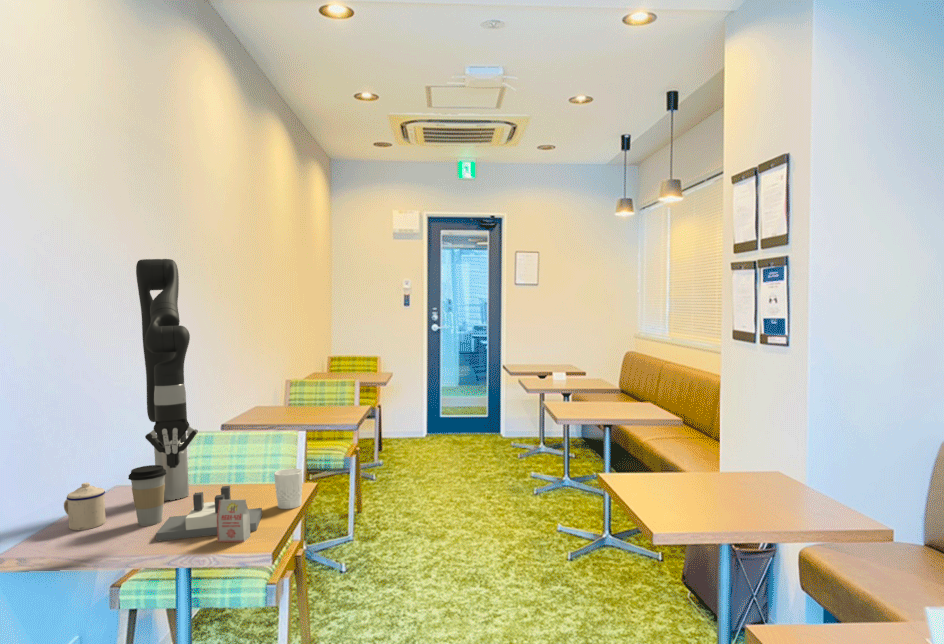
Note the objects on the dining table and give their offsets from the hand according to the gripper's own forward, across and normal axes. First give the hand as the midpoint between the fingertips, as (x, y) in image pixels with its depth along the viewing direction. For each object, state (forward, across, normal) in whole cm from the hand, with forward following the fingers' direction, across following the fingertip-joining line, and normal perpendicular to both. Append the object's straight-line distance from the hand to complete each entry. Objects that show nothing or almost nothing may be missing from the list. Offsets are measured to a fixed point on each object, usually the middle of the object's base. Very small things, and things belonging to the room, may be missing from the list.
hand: (173, 467), depth 165 cm
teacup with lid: (+17, +27, -14) cm, 35 cm away
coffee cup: (+17, +9, -10) cm, 22 cm away
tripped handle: (+12, -6, 0) cm, 13 cm away
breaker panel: (+17, -9, 0) cm, 19 cm away
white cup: (+17, -28, -12) cm, 35 cm away
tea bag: (+17, -16, +12) cm, 26 cm away
